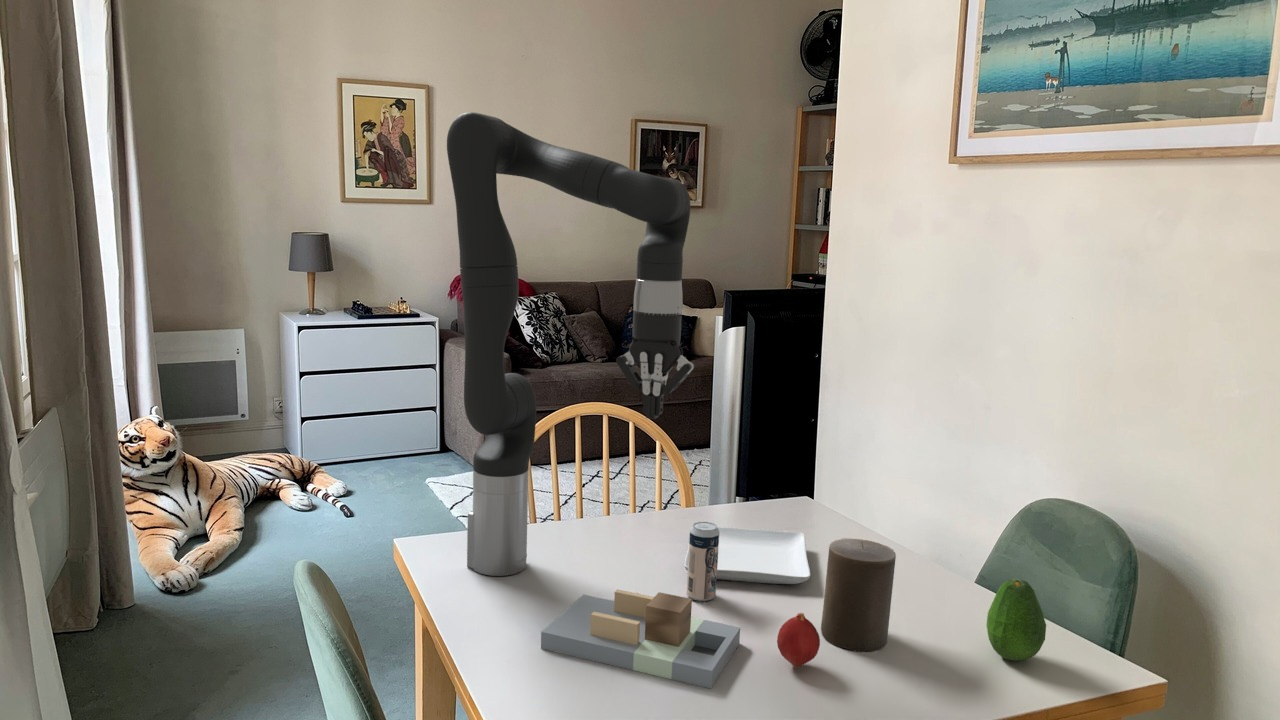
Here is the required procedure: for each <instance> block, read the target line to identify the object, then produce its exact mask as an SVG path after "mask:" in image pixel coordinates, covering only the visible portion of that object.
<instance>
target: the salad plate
mask: <svg viewBox="0 0 1280 720" xmlns="http://www.w3.org/2000/svg"><path fill="white" fill-rule="evenodd" d="M717 527H718V529H719V532H720V533H719V548H718V565H717V580H725V581H735V582H736V581H738V582H747V583H762V584H772V585H798V584H801V583H804V582H806V581H808V580H809V579H810V578H811V569H810V563H809V561H808V555H807V549H806V545H807V543H806V536H805V534H804V533H803V532H797V531H786V530H785V531H784V530H773V529H772V530H771V529H759V528H758V529H757V528H745V527H744V528H743V527H729V526H728V527H726V526H722V527H721V526H717ZM691 528H692V526H691ZM691 528H690V529H691ZM689 539H690V537H689ZM688 558H689V545H688V547H687V552H686V555H685V559H684V563H683V565H684V568H685V570H686V571H687V572H688Z"/></svg>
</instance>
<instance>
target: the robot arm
mask: <svg viewBox="0 0 1280 720" xmlns="http://www.w3.org/2000/svg"><path fill="white" fill-rule="evenodd" d="M446 153H447V159H448V165H449V171H450V176H451V181H452V182H451V183H452V188H453V189H452V190H453V195H454V201H455V208H456V225H457V235H458V236H457V237H458V238H457V239H458V247H459V249H458V250H459V271H460V286H461V288H460V289H461V297H462V306H463V308H462V309H463V327H464V330H463V331H464V348H465V349H464V354H465V355H464V375H463V376H464V381H463V382H464V383H463V403H464V404H463V405H464V412H465V416H466V417H467V420H468V422H469V424H470V426H471V427H472V428H473V429H474V430H475V431H476V432H478V433H479V434H480V435H485V436H486V438H485V440H484V442H483V443H482V444H481V445H480V446H479V447H478V448H477V450H475V452H474V454H473V459H472V460H473V462H472V464H473V465H472V468H473V469H472V470H473V471H472V473H473V474H472V510H471V511H470V512H468V513H467V530H466V531H467V532H466V533H467V534H466V535H467V537H466V538H467V539H466V540H467V542H466V543H467V544H466V546H467V547H466V567H467V568H471V569H473V570H474V571H475V572H477V573H478V574H482V575H484V576H493V577H494V576H495V577H502V576H503V577H504V576H510V575H511V576H512V575H516V574H519V573H520V572H522V571H524V570H525V569H526V567H527V556H528V553H527V547H528V546H527V545H528V513H529V512H528V511H529V510H528V508H529V468H530V467H529V465H530V460H531V457H532V455H533V452H534V447H535V436H536V425H537V396H536V393H535V390H534V387H533V385H532V384H531V382H530V381H529V379H528V378H526V377H525V376H523V375H522V374H519V373H517V372H508V373H505V359H504V358H505V344H506V341H507V336H508V333H509V329H510V327H511V324H512V321H513V318H514V316H515V311H516V308H517V305H518V301H519V293H520V291H519V289H520V288H519V287H520V285H519V273H518V272H519V270H518V259H517V253H516V247H515V245H514V242H513V239H512V237H511V234H510V232H509V230H508V227H507V225H506V222H505V219H504V216H503V214H502V212H501V208H500V203H499V197H498V183H497V180H498V179H497V174H499V175H506V176H507V175H508V176H514V177H522V178H526V179H531V180H533V181H537V182H540V183H543V184H545V185H548V186H550V187H552V188H555V189H556V190H558V191H561V192H562V193H565V194H567V195H570V196H572V197H574V198H577V199H580V200H583V201H585V202H590V203H592V204H595V205H598V206H601V207H605V208H609V209H614V210H616V211H618V212H620V213H622V214H624V215H626V216H629V217H632V218H634V219H636V220H638V221H641V222H644V223H646V227H645V236H644V240H643V241H642V242H641V243H640V245H639V247H638V248H637V249H638V250H637V258H636V262H637V263H636V278H635V279H636V280H635V287H634V292H633V313H632V315H633V316H632V341H631V344H630V345H629V349H628V351H627V352H625V353H624V354H623V355H620V356H617V357H616V359H615V362H616V364H617V365H618V367H619V368H620V370H621V372H622V373H623V374H624V376H625V378H626V380H628V382H629V384H630V385H631V387H632V388H633V390H637V391H640V392H641V393H642V394H643V401H642V402H643V403H642V412H643V414H644V415H645V418H646V419H653V420H656V419H658V418H659V417H660V415H662V413H663V410H664V397H665V394H671V393H672V392H674V391H676V389H677V388H678V387H679V386H680V385H681V384H682V383H683V382H684V380H685V379H687V377H688V376H689V375H690V373H692V371H693V370H694V369H695V367H696V365H695V363H694V362H693V361H689V360H688V359H687V358H686V357H685V356H684V355H683V353H684V351H683V349H682V346H681V336H682V335H681V334H682V318H683V317H682V316H683V315H682V314H683V307H684V303H683V285H682V283H683V282H682V281H683V261H684V260H683V257H684V256H683V255H684V254H683V253H684V252H683V251H684V246H685V244H686V243H685V242H686V237H687V233H688V227H689V222H690V215H691V198H690V194H689V191H688V189H687V187H686V186H685V184H683V183H682V182H681V181H679V180H678V179H674V178H669V177H661V176H658V175H654V174H649V173H646V172H642V171H639V170H635V169H634V170H633V169H631V168H629V167H628V166H626V165H625V164H622V163H619V162H617V161H614V160H609V159H606V158H604V157H601V156H597V155H594V154H589V153H586V152H582V151H580V150H579V151H578V150H576V149H571V148H565V147H562V146H558V145H555V144H551V143H548V142H546V141H544V140H541V139H538V138H535V137H534V136H532V135H529V134H527V133H526V132H524V131H521V130H520V129H518V128H516V127H514V126H512V125H510V124H508V123H506V122H505V121H504V120H502V119H501V118H498V117H496V116H491V115H487V114H483V113H479V112H474V111H471V112H469V111H468V112H464V113H461V114H459V115H458V116H456V118H455V119H454V120H453V121H452V123H451V124H450V126H449V129H448V132H447V136H446ZM634 364H636V365H637V367H638V369H639V370H640V372H639V371H638V370H637V368H636V366H635V365H634ZM676 364H677V366H676ZM675 366H676V370H677V372H676V373H675V374H674V376H673V377H671V379H670V380H669V381H668V377H669V372H671V370H673V368H674V367H675ZM667 381H668V383H667Z"/></svg>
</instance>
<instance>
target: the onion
mask: <svg viewBox="0 0 1280 720" xmlns="http://www.w3.org/2000/svg"><path fill="white" fill-rule="evenodd" d="M776 638H777V639H776V643H777V644H776V645H777V649H778V650H779V652H780V655H781V656H782V657H783V658H784V659H785V660H786V661H788V662H789V663H790V664H791V666H793V667H794V668H801V667H802V666H804V665H806V664H808V663H809V662H810V661H812V660H814V658H815V657H816V656H817V654H818V653H819V649H820V645H821V641H820V640H821V639H820V634H819V632H818V630H817V628H816V627H815V625H814V624H813V622H811V621H810V620H809V619H808V618H806V616H805V613H803V612H798V613H797V614H796V616H793V617H791V618H789V619H788V620H786V621H785V622H784V623H783V624H782V625H781V627H780V628H779V630H778V633H777V637H776Z"/></svg>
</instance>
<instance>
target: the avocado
mask: <svg viewBox="0 0 1280 720" xmlns="http://www.w3.org/2000/svg"><path fill="white" fill-rule="evenodd" d="M1041 607H1042V606H1041V605H1040V603H1039V600H1038V597H1037V594H1036V593H1035V590H1034V589H1033V588H1032V586H1031V585H1030V583H1029V582H1028V581H1026V580H1022V579H1019V578H1010V579H1008V580H1006V581H1004V582H1003V583H1002V584H1001V585H1000V586H999V588H998V589H997V591H996V593H995V596H994V598H993V601H992V602H991V605H990V606H989V609H988V611H987V616H986V617H987V619H986V630H987V631H986V632H987V636H988V637H987V638H988V641H989V642H990V645H991V647H992V649H993V650H994V651H995V653H997V655H999V656H1000V657H1002V658H1003V659H1005V660H1010V661H1016V662H1020V661H1026V660H1029V659H1031V658H1034V656H1035V655H1037V654H1038V653H1039V652H1040V650H1041V648H1042V647H1043V645H1044V642H1045V641H1046V634H1047V633H1046V632H1047V624H1046V619H1045V616H1044V613H1043V610H1042V608H1041Z"/></svg>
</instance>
